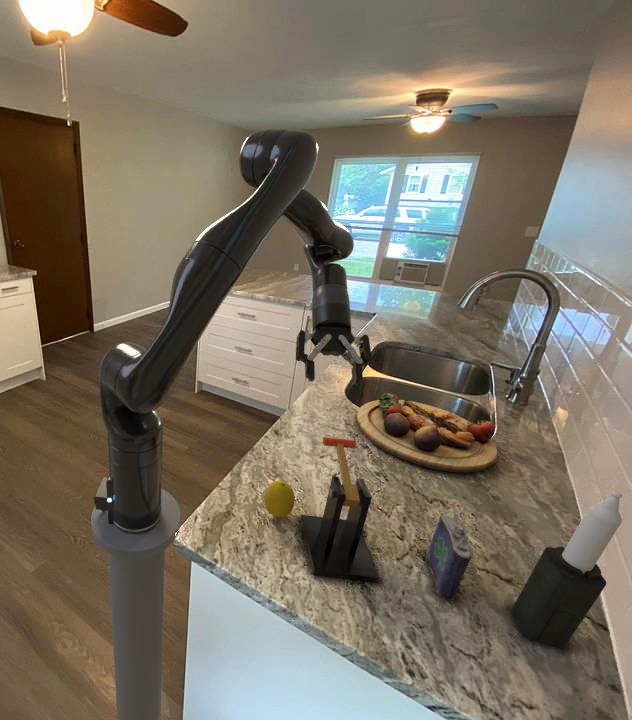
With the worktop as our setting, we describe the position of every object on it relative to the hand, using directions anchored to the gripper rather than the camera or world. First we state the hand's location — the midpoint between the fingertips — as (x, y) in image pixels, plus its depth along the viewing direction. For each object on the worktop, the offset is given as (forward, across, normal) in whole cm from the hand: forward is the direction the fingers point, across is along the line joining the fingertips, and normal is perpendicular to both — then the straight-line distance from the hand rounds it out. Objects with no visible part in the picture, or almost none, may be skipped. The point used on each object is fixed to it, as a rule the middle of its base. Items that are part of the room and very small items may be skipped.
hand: (334, 382), depth 76 cm
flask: (+32, +16, +2) cm, 36 cm away
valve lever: (+17, 0, -2) cm, 18 cm away
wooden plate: (+1, +32, +33) cm, 46 cm away
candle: (+37, +26, -3) cm, 45 cm away
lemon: (+26, -10, +8) cm, 29 cm away
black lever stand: (+30, 0, +4) cm, 30 cm away
